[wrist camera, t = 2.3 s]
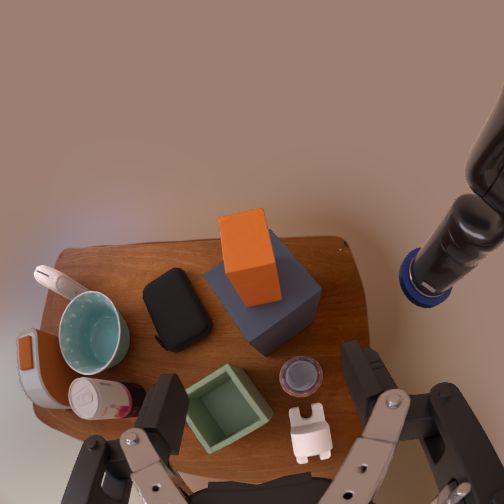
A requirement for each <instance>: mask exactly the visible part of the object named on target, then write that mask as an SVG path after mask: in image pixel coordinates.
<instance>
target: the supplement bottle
mask: <svg viewBox="0 0 504 504" xmlns="http://www.w3.org/2000/svg"><path fill="white" fill-rule="evenodd" d="M322 380H323V371H322V368H321V366H320V364H319V363H318V362H317V361H316V360H315V359H313V358H311V357H309V356H295V357H293V358H291V359H289V360H288V361H286V363H285V364H284V365H283V366H282V368H281V370H280V374H279V381H280V384H281V387H282V388H283V390H284V391H285V392H286V393H288V394H289V395H291V396H294V397H307V396H310V395H312V394H313V393H315V392H316V391H317V390H318V388H319V387H320V385H321V383H322Z"/></svg>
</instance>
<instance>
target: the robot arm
mask: <svg viewBox="0 0 504 504" xmlns="http://www.w3.org/2000/svg"><path fill="white" fill-rule="evenodd" d="M464 177H465V180H466V183H467V184H468V186H469V187H470V188H471V189H472V191H473V192H474V193H475V194H472V193H466V194H462V195H460V196H459V197H457V198H456V199H455V201H454V202H453V204H452V205H451V207H450V208H449V210H448V212H447V213H446V214H445V216H444V217H443V219H442V220H441V222H440V223H439V225H438V226H437V227H436V229H435V230H434V232H433V233H432V234H431V236H430V237H429V239H428V240H427V241H426V243H425V244H424V245H423V247H422V248H421V249H420V250H419V252H418V253H417V254H416V255H415V256H414V257H413V259H412V260H411V262H410V264H409V267H408V277H409V281H410V283H411V285H412V287H413V288H414V290H415V291H416V292H417V293H418V294H420V295H421V296H423V297H425V298H437V297H439V296H441V295H442V294H443V293H445V291H446V290H448V289H449V288H450V287H452V286H453V285H454V284H456V283H457V282H458V281H459V280H460V279H462V278H463V277H464V276H465V275H466V274H468V273H469V272H470V271H471V270H472V269H474V268H475V267H476V266H477V265H478V264H479V263H480V262H481V261H483V259H485V258H486V257H487V256H488V255H489V254H490V253H491V252H493V251H495V250H496V249H498V248H499V247H500V246H501V245H502V244H503V243H504V84H503V86H502V89H501V92H500V94H499V97H498V99H497V101H496V104H495V105H494V107H493V109H492V111H491V113H490V115H489V117H488V119H487V121H486V123H485V124H484V126H483V128H482V130H481V131H480V133H479V135H478V136H477V138H476V140H475V142H474V144H473V146H472V148H471V150H470V152H469V154H468V157H467V160H466V163H465V169H464ZM341 359H342V371H343V376H344V379H345V381H346V384H347V386H348V389H349V392H350V394H351V397H352V399H353V402H354V404H355V407H356V410H357V412H358V415H359V417H360V420H361V423H362V425H363V428H364V431H363V433H362V435H361V436H359V437H358V438H357V439H356V441H355V442H354V444H353V446H352V448H351V450H350V452H349V454H348V455H347V457H346V459H345V461H344V463H343V464H342V466H341V468H340V469H339V471H338V473H337V474H336V476H335V478H334V479H333V480H331V479H327V478H321V477H311V472H306V473H300V474H295V475H288V476H284V477H281V478H278V479H275V480H272V481H269V482H266V483H263V484H259V485H255V484H247V483H240V482H234V481H227V482H208V488H205V489H202V490H200V491H197V492H195V493H193V492H192V491H191V490H190V489H189V487H188V486H187V485H186V483H185V482H184V481H183V479H182V478H181V476H180V475H179V474H178V472H177V471H176V469H175V468H174V466H173V465H172V463H171V462H170V461H169V457H170V455H179V450H180V445H181V440H182V435H183V431H184V426H185V421H186V417H187V412H188V408H189V397H188V394H187V392H186V390H185V388H184V387H183V385H182V383H181V381H180V379H179V377H178V375H177V374H163V375H161V376H160V378H159V380H158V383H157V385H153V386H152V387H151V388H150V389H149V391H148V392H147V394H146V397H145V401H144V402H143V405H142V407H141V410H140V412H139V415H138V418H137V420H136V423H135V426H134V428H131V429H128V430H127V431H125V432H124V433H123V434H122V435H121V437H120V439H117V440H111V441H106V440H105V439H104V438H103V437H101V436H99V435H93V436H90V437H89V438H87V439H86V440H85V441H84V443H83V445H82V447H81V450H80V452H79V455H78V457H77V460H76V463H75V465H74V468H73V470H72V474H71V476H70V479H69V481H68V484H67V487H66V490H65V493H64V496H63V499H62V502H61V504H128V502H129V497H130V492H131V488H132V483H134V485H135V487H136V489H137V491H138V493H139V495H140V497H141V499H142V501H143V503H144V504H375V503H374V502H372V501H373V499H374V497H375V495H376V493H377V491H378V489H379V487H380V485H381V483H382V481H383V479H384V476H385V474H386V472H387V470H388V467H389V465H390V463H391V460H392V458H393V456H394V453H395V450H396V448H397V445H398V443H399V441H405V440H414V439H419V440H420V443H421V445H422V447H423V450H424V452H425V455H426V457H427V460H428V463H429V465H430V468H431V471H432V473H433V476H434V478H435V481H436V484H437V487H438V490H439V494H438V495H437V496H436V497H435V498H434V499H433V501H432V502H431V504H504V467H503V465H502V463H501V461H500V460H499V458H498V455H497V453H496V452H495V450H494V448H493V446H492V444H491V442H490V440H489V439H488V437H487V435H486V433H485V431H484V430H483V428H482V426H481V425H480V423H479V421H478V419H477V418H476V416H475V415H474V413H473V411H472V409H471V408H470V406H469V405H468V403H467V401H466V400H465V398H464V397H463V395H462V394H461V392H460V391H459V389H458V388H457V387H456V386H455V385H454V384H452V383H447V382H443V383H439V384H437V385H435V386H434V387H433V388H432V389H431V391H430V393H427V394H419V395H409V394H407V393H406V392H405V391H403V390H400V389H398V387H397V386H396V384H395V382H394V380H393V379H392V377H391V375H390V373H389V372H388V370H387V368H386V367H385V365H384V363H383V362H382V361H381V358H380V357H379V355H378V354H377V352H376V351H374V350H373V349H371V348H370V347H367V348H364V349H361V347H360V345H359V343H358V342H357V340H354V341H350V342H347V343H343V344H341ZM104 472H106V475H105V479H104V482H103V486H102V487H101V482H102V479H103V476H104Z"/></svg>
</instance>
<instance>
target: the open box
mask: <svg viewBox="0 0 504 504" xmlns="http://www.w3.org/2000/svg"><path fill="white" fill-rule="evenodd" d="M186 392H187V394H188V397H189V408H188V412H187V417H186V422H187V423H188V425H189V426H190V428H191V429H192V431H193V432H194V434H195V435H196V437H197V438H198V440H199V441H200V442H201V444H202V445H203V447H204V448H205V450H206V451H207V452H208V454H212V453H214V452H216V451H218V450H220V449H221V448H223V447H225V446H227V445H229V444H231V443H233V442H235V441H236V440H238V439H240V438H242V437H244V436H245V435H247V434H249V433H250V432H252V431H254V430H256V429H257V428H259V427H261V426H262V425H264V424H265V423H267V422H269V421H270V419H271V418H272V416H273V415H274V413H275V412H274V411H273V410H272V408H271V407H270V406H269V404H268V403H267V402H266V400H265V399H264V398H263V396H262V395H261V394H260V392H259V391H258V389H257V388H256V387H255V385H254V384H253V383H252V381H251V380H250V378H249V377H248V375H247V374H246V373H245V371H244V370H243V368H242V367H239V366H235V365H232V364H229V363H227V364H226V365H224V366H223V367H221V368H220V369H218V370H216V371H215V372H213V373H212V374H210V375H209V376H207V377H205V378H204V379H202V380H201V381H199V382H197V383H196V384H194V385H192V386H191V387H189V388H187V389H186Z"/></svg>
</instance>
